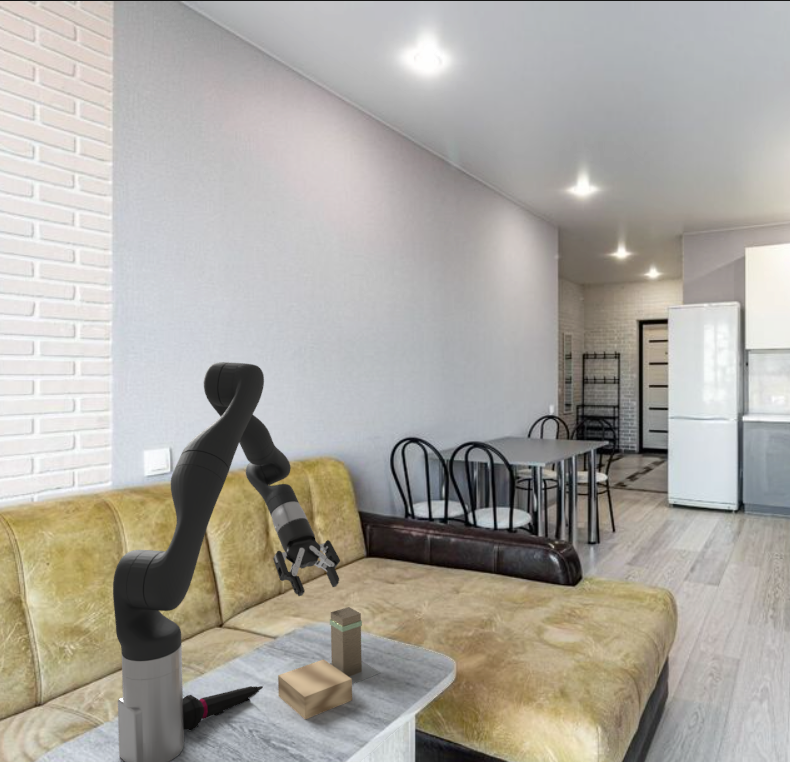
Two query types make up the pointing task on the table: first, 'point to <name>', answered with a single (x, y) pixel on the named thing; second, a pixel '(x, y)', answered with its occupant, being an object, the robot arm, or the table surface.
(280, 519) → the robot arm
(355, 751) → the table surface
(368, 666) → the coaster
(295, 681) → the rest block
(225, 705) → the microphone
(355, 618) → the column
